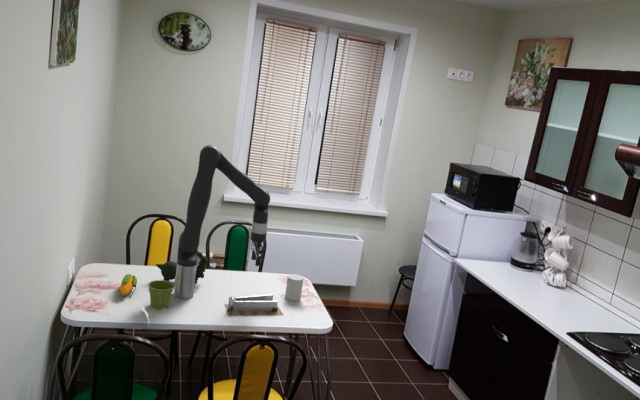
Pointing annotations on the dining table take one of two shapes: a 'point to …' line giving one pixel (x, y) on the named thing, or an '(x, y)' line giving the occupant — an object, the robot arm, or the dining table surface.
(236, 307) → the arm
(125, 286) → the corn
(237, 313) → the walnut board
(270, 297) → the tongs swing arm
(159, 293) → the plant pot
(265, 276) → the dining table surface
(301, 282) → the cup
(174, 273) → the toy figurine
